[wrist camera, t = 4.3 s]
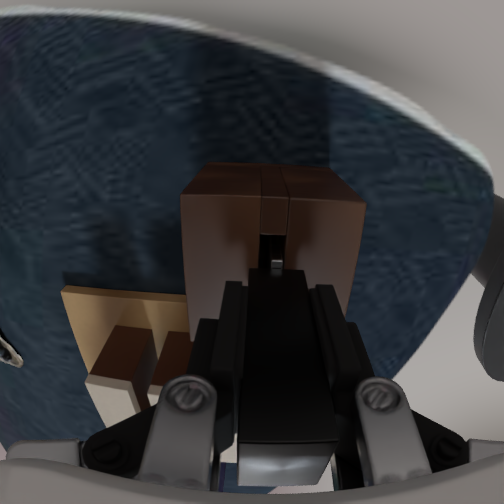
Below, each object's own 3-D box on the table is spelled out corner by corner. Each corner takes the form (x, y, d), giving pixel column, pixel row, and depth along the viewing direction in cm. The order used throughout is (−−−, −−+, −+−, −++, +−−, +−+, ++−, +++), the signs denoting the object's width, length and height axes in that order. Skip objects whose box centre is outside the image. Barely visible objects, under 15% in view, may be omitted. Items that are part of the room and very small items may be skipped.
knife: (289, 203, 18) (344, 432, 5) (285, 252, 19) (315, 489, 6) (253, 202, 18) (237, 434, 5) (251, 251, 19) (236, 489, 6)
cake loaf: (296, 336, 22) (304, 403, 16) (284, 405, 25) (288, 464, 20) (168, 330, 22) (146, 393, 17) (180, 399, 25) (167, 456, 20)
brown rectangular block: (152, 328, 22) (127, 390, 17) (167, 397, 25) (152, 453, 20) (114, 324, 22) (84, 382, 17) (135, 393, 25) (116, 446, 20)
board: (334, 300, 22) (337, 308, 21) (307, 412, 27) (308, 420, 26) (66, 284, 22) (60, 291, 21) (104, 394, 27) (100, 401, 26)
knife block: (330, 167, 18) (368, 202, 12) (317, 274, 21) (338, 346, 15) (207, 161, 18) (179, 194, 12) (209, 269, 21) (189, 341, 15)
